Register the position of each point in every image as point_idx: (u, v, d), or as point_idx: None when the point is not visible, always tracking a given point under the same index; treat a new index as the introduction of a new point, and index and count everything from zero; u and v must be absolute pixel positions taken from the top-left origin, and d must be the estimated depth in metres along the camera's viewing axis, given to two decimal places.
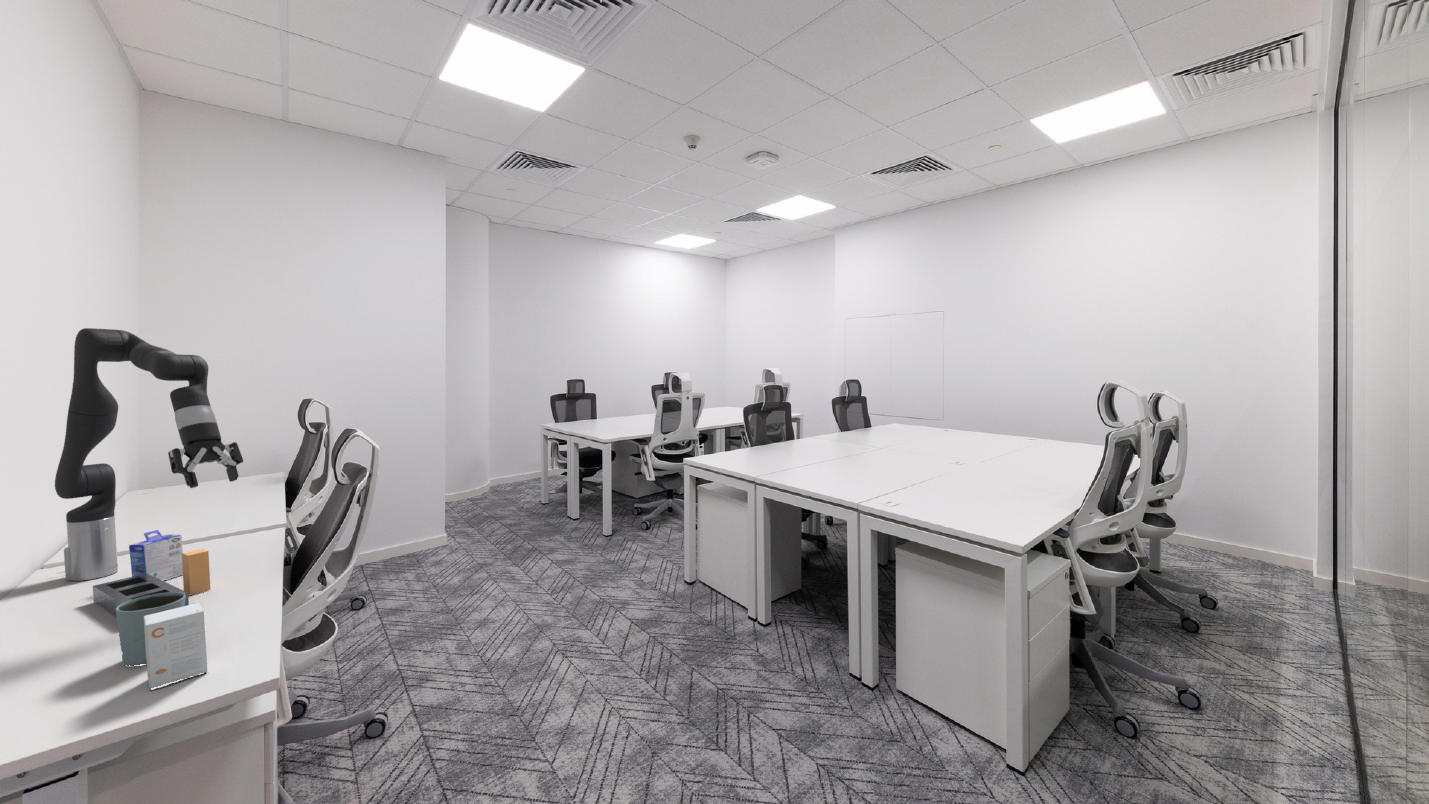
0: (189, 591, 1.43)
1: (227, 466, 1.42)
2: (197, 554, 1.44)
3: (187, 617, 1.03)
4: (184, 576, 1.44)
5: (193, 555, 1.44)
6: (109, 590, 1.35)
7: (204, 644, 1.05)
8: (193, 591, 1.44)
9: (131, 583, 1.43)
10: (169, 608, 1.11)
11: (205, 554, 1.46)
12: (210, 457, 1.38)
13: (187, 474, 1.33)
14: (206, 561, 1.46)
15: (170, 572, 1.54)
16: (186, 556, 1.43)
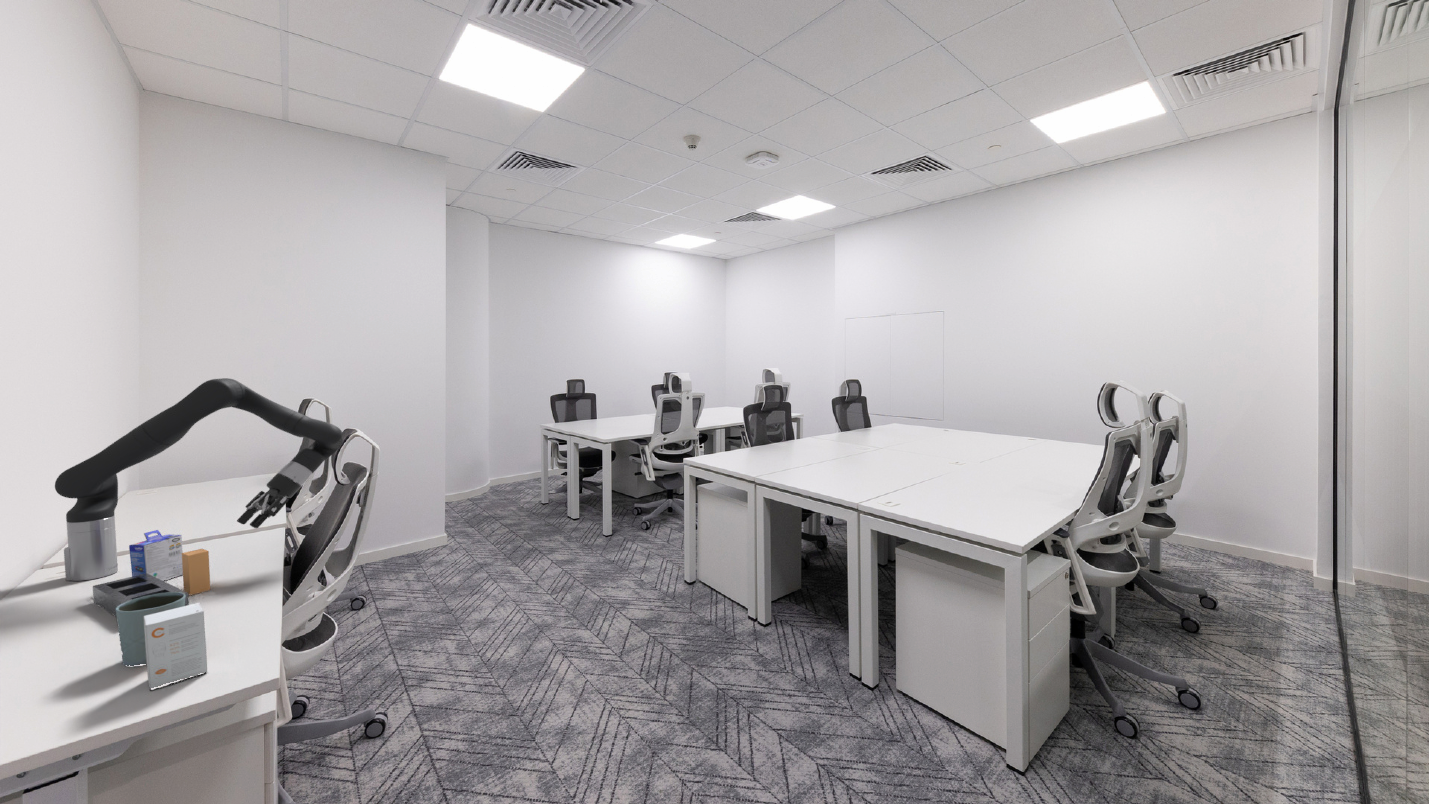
0: (189, 591, 1.43)
1: (250, 509, 1.59)
2: (197, 554, 1.44)
3: (187, 617, 1.03)
4: (184, 576, 1.44)
5: (193, 555, 1.44)
6: (109, 590, 1.35)
7: (204, 644, 1.05)
8: (193, 591, 1.44)
9: (131, 583, 1.43)
10: (169, 608, 1.11)
11: (205, 554, 1.46)
12: None
13: (265, 518, 1.55)
14: (206, 561, 1.46)
15: (170, 572, 1.54)
16: (186, 556, 1.43)
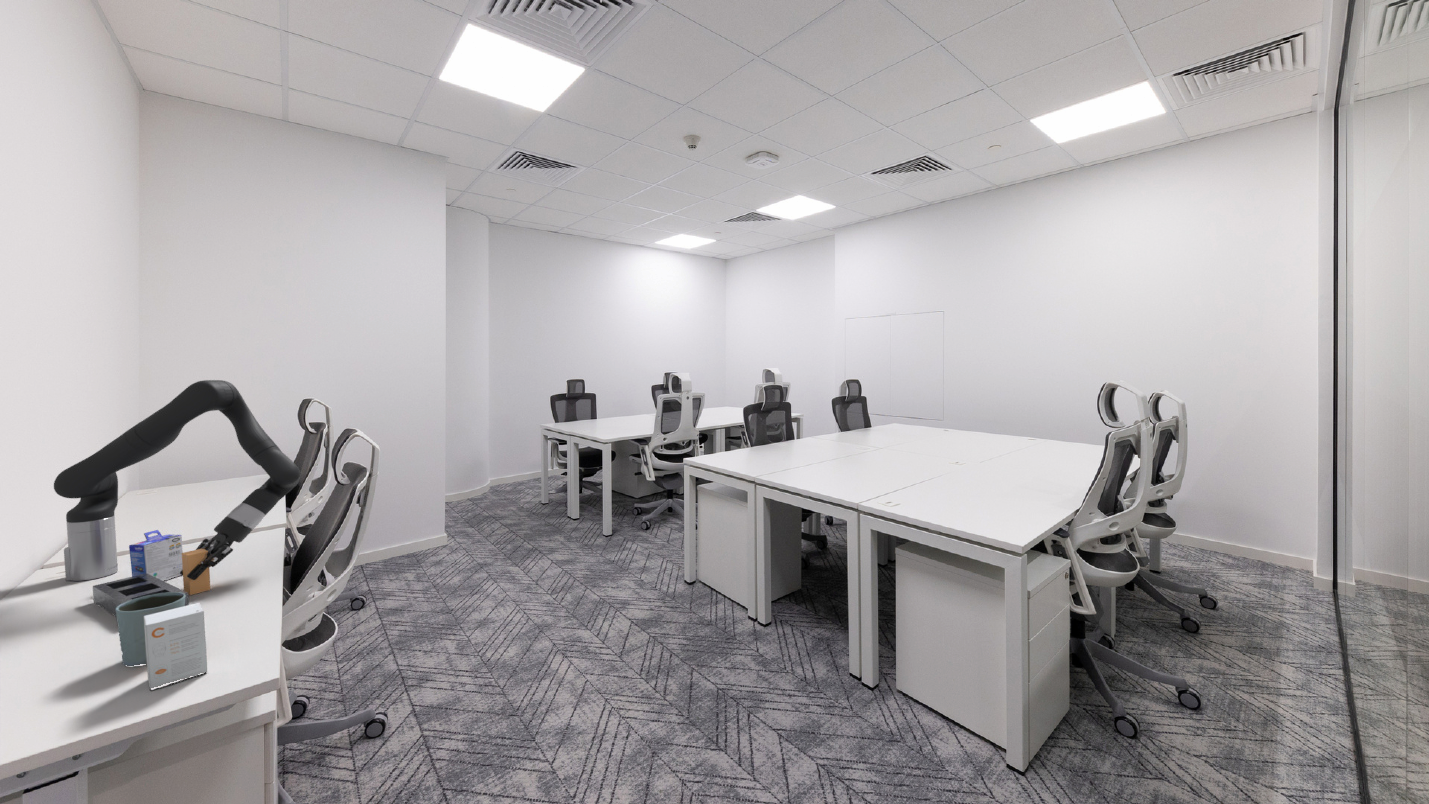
0: (189, 591, 1.43)
1: None
2: (197, 554, 1.44)
3: (187, 617, 1.03)
4: (184, 576, 1.44)
5: (193, 555, 1.44)
6: (109, 590, 1.35)
7: (204, 644, 1.05)
8: (193, 591, 1.44)
9: (131, 583, 1.43)
10: (169, 608, 1.11)
11: None
12: None
13: (205, 568, 1.45)
14: None
15: (170, 572, 1.54)
16: (186, 556, 1.43)
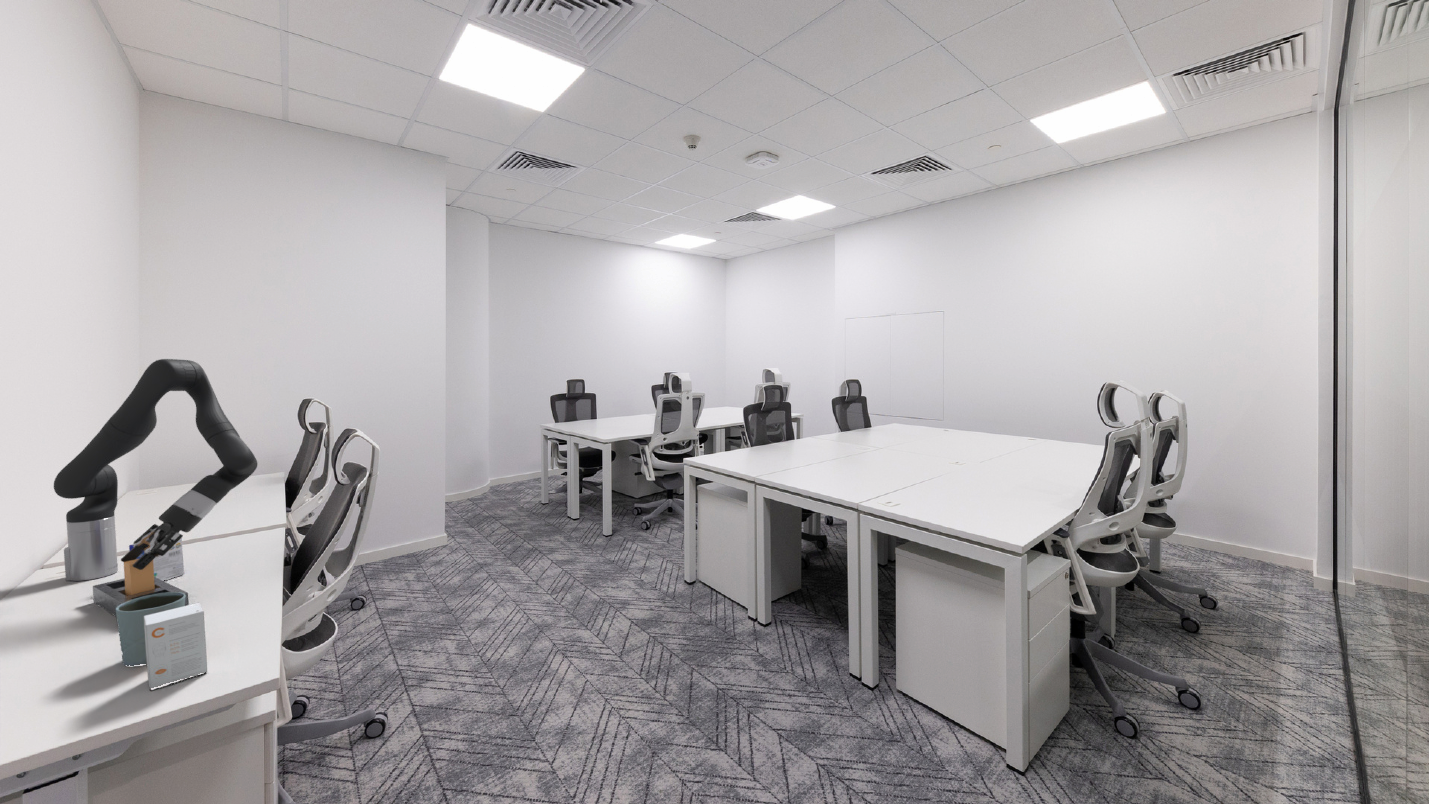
0: None
1: (138, 546, 1.39)
2: None
3: (187, 617, 1.03)
4: (126, 587, 1.35)
5: None
6: (109, 590, 1.35)
7: (204, 644, 1.05)
8: None
9: None
10: (169, 608, 1.11)
11: (149, 563, 1.36)
12: None
13: (153, 557, 1.34)
14: (150, 570, 1.36)
15: (170, 572, 1.54)
16: (128, 565, 1.33)
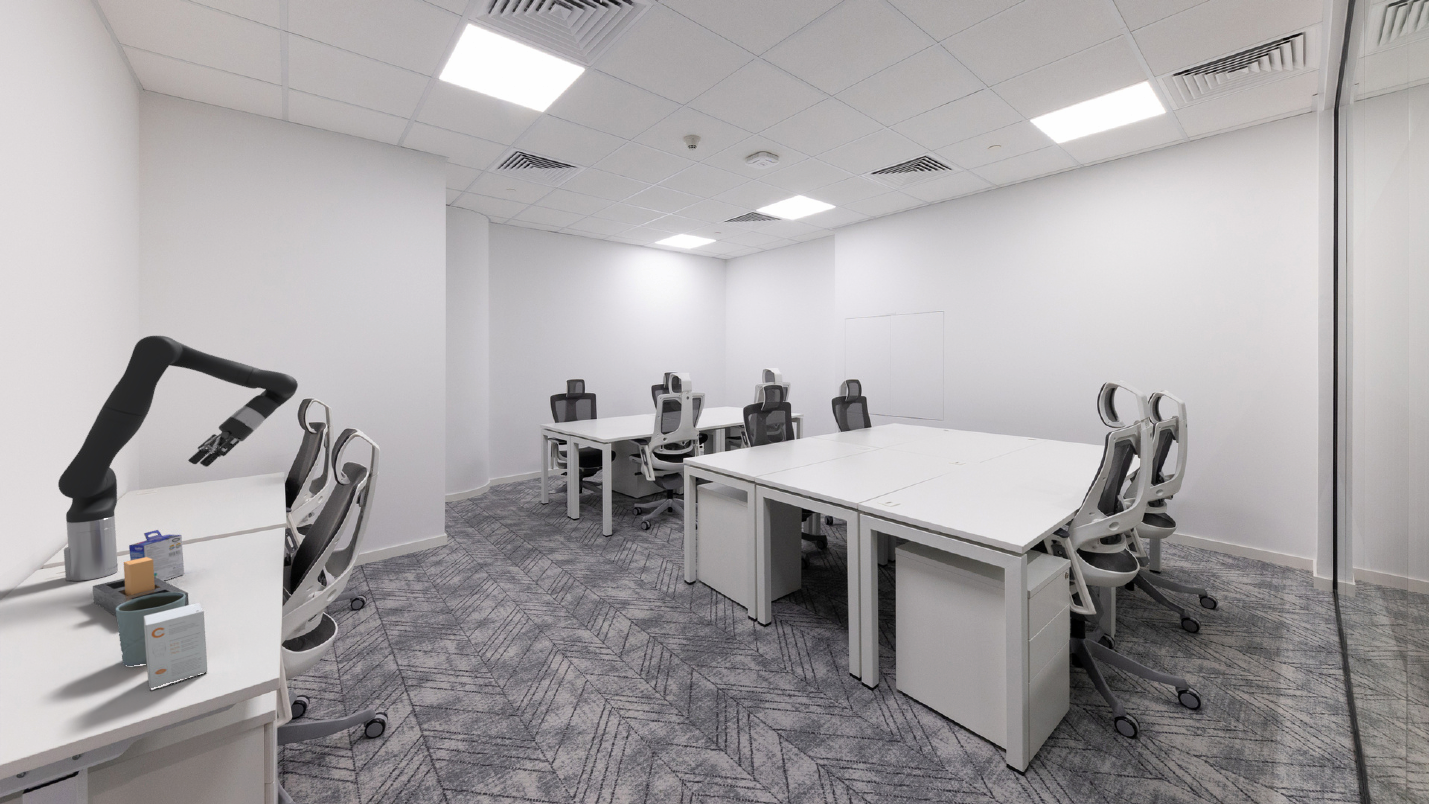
0: None
1: (202, 451, 1.65)
2: (140, 563, 1.34)
3: (187, 617, 1.03)
4: (126, 587, 1.35)
5: (135, 564, 1.34)
6: (109, 590, 1.35)
7: (204, 644, 1.05)
8: None
9: None
10: (169, 608, 1.11)
11: (149, 563, 1.36)
12: None
13: (216, 457, 1.61)
14: (150, 570, 1.36)
15: (170, 572, 1.54)
16: (128, 565, 1.33)
